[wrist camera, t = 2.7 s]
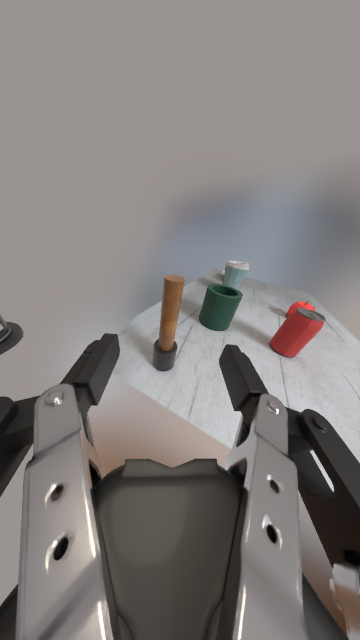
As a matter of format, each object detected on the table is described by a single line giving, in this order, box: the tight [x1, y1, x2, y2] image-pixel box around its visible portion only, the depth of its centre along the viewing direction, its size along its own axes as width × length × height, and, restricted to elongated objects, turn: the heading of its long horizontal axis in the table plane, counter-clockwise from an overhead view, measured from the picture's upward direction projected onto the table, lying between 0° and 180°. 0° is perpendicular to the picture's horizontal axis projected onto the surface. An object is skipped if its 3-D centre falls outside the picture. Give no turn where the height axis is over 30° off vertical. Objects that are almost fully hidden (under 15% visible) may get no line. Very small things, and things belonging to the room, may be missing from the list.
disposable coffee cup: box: [222, 261, 249, 289], centre depth 65 cm, size 11×11×15 cm
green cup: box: [199, 284, 242, 331], centre depth 42 cm, size 10×10×11 cm
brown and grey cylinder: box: [153, 275, 184, 371], centre depth 23 cm, size 4×4×18 cm
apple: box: [287, 301, 315, 316], centre depth 54 cm, size 8×8×8 cm
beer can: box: [270, 308, 326, 357], centre depth 35 cm, size 7×7×12 cm
